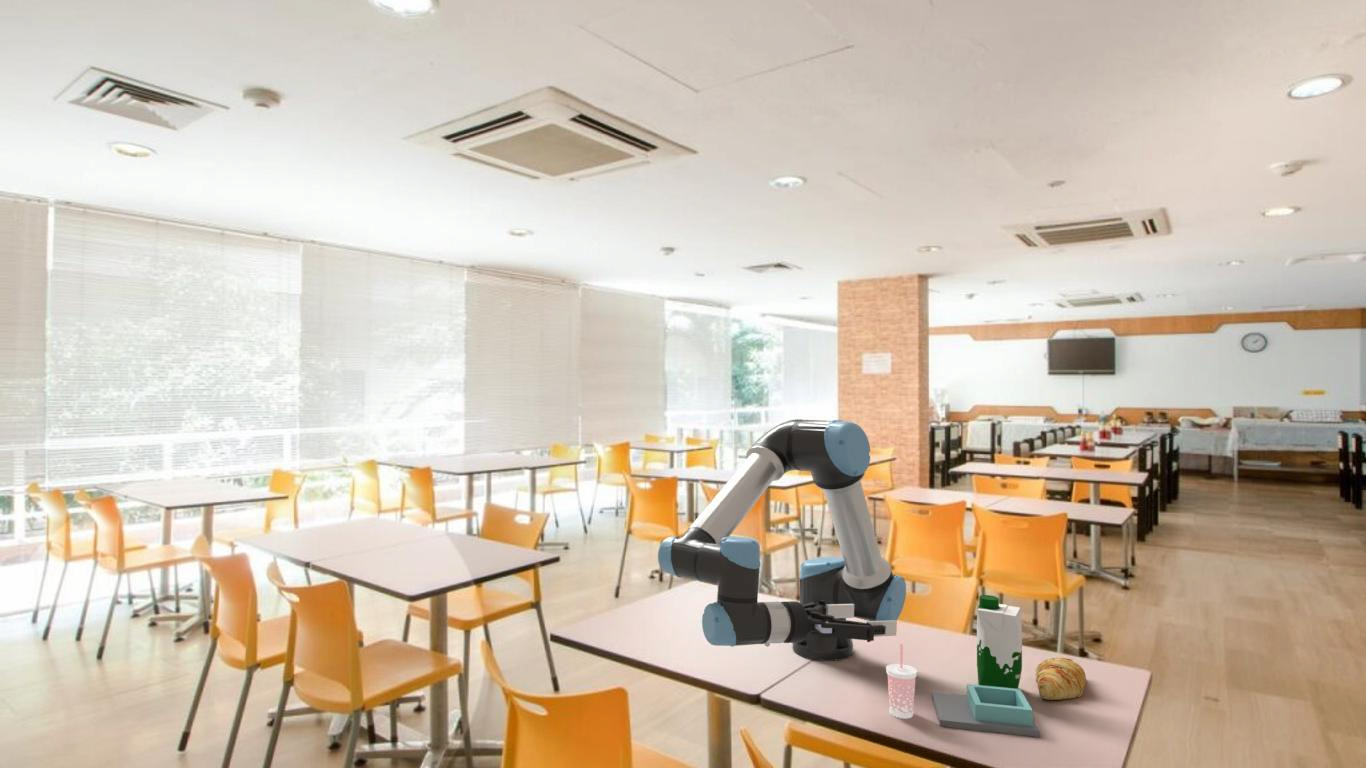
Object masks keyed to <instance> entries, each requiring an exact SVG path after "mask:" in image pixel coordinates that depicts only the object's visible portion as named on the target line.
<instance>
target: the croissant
mask: <svg viewBox="0 0 1366 768" xmlns="http://www.w3.org/2000/svg"><path fill="white" fill-rule="evenodd" d="M1035 676H1036V677H1035V682H1036V684H1037V689H1038V692H1039V697H1040V698H1042V699H1043V700H1048V701H1049V700H1051V701H1053V700H1057V701H1060V700H1067V699H1069V700H1070V699H1074V698H1077V697H1078V698H1080V697H1082V695H1083V693H1084V691H1085V688H1086V684H1087V678H1086V677H1087V676H1086V673H1085V670H1084V668H1083V667H1082V666H1081V665H1080V664H1079V663H1077V662H1075V661H1074V660H1073V659H1071V658H1066V657H1055V658H1054V657H1052V658H1049V659H1048V658H1047V659H1045V660H1043V661H1042V662H1040V663H1039V664H1038V665H1037V666H1036V667H1035Z"/></svg>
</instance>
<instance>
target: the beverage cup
mask: <svg viewBox="0 0 1366 768" xmlns="http://www.w3.org/2000/svg"><path fill="white" fill-rule="evenodd" d="M899 645H900V646H899V647H900V648H899V655H900V657H899V658H900V659H899V660H900V661H899V663H891V664H888V665H886V667H885V670H886V674H887V688H888V690H887V691H888V705H889V714H890V715H891V714H892V715H891V716H893V717H895V716H896V717H895V718H898V717H899V718H898V719H911V718H912V717H913V716H914V708H915V707H914V706H915V705H914V703H915V691H916V690H915V689H916V677H917V675H918V670H917V668H916V667H913V666H911V665H909V664H904V661H903V659H904V657H903V656H904V655H903V654H904V653H903V652H904V651H903V650H904V647H903V646H904V644H902V643H900V644H899Z"/></svg>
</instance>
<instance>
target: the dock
mask: <svg viewBox="0 0 1366 768" xmlns="http://www.w3.org/2000/svg"><path fill="white" fill-rule="evenodd" d="M931 698H932V701H933V702H932V703H933V705H934V710H935V713H936V717H937V720H938V725H939V726H940V727H944V726H948V727H947V728H953V727H955V728H956V729H965V730H971V731H980V732H989V733H991V732H992V733H999V734H1008V735H1017V736H1026V737H1027V736H1028V737H1035V738H1040V737H1041V733H1040V728H1039V727H1038V726H1037V723H1036V722H1035V720H1034V718H1033V717H1034V715H1033V714H1034V712H1033V711H1034V709H1033V708H1032V707H1031V705H1030V704H1029V701H1028V699H1027V698H1026V696H1025V695H1024V693H1023V692H1022V690H1021V688H1018V689H1014V688H1004V687H993V686H983V685H979V684H972V683H971V684H970V683H967V684H966V694H963V693H962V694H961V693H952V692H951V693H950V692H941V691H931ZM955 728H954V729H955Z"/></svg>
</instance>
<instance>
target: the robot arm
mask: <svg viewBox="0 0 1366 768" xmlns="http://www.w3.org/2000/svg"><path fill="white" fill-rule="evenodd" d="M870 452H871V446H870V441H869V438H868V436H867V433H866V432H865V431H864V429H863V428H862V427H861V426H860V425H858V424H857V423H855V422H852V421H844V420H840V419H836V420H835V419H833V420H821V419H820V420H818V419H817V420H816V419H815V420H814V419H802V418H799V419H798V418H797V419H791V420H787V421H784V422H783V423H779V424H778V425H776V426H774V427H772V428H771V429H770V430H768V431H767V432H765V433H764V434H763V435H761V436H760V437H759V438H758V439H757V440H756V441H755V442H754V443H753V444H752V445H751V446H750V448H748V449H747V451H746V456H745V461H744V462H743V463H742V464H741V465H740V466H739V468H738V469H737V470H736V471H735V472H734V474H733V475H732V476H731V477H730V478H729V480H727V482H726V483H725V484H724V485H723V487H722V488H721V489H720V490H719V491H718V492H717V494H716V495H715V496H714V497H713V499H712V500H711V501H710V502H709V504H708V505H707V506H706V507H705V508H704V509H703V510H702V511H701V513H700V514H699V515H698V516H697V517H696V519H695V520H694V521H693V523H691V525H690V526H689V527H688V529H687V530H686V531H685V532H684V534H683V535H682V536H679V535H675V536H674V535H672V536H669V537H666V538H664V540H662V542H661V543H660V546H659V548H658V552H657V561H658V565H659V567H660V569H661V570H662V571H663V572H664V573H667V574H669V575H672V576H675V577H677V578H684V579H688V580H693V581H698V582H702V583H706V584H711V585H713V586H717V592H716V593H717V597H716V601H715V602H712V603H709V604H707V605H706V606H705V608H704V609H703V614H702V617H701V618H702V619H701V626H702V632H703V635H704V638H705V639H706V641H707V642H708V643H709V644H710V645H711V646H717V647H718V646H719V647H720V646H723V647H725V646H726V647H733V648H734V647H735V646H736V647H737V646H748V645H749V646H750V645H764V646H765V647H767V648H768V647H770V645H771V644H781V643H783V644H792V650H793V652H795V653H796V654H797V655H799V656H801V657H804V658H807V659H812V660H818V661H841V660H845V659H848V658H850V657H852V656H853V654H854V643H853V640H860V641H866V642H867V643H870V642H873V641H874V640H875V638H874V637H876V638H877V637H893V636H895V637H896V636H897V630H898V629H897V628H898V627H897V626H898V625H897V624H898V619H899V618H900V616H901V614H902V613H903V609H904V607H905V601H906V596H907V584H906V583H907V582H906V580H905V578H904V577H903V576H901V575H899V574H894V573H893V571H892V566H891V564H890V563H889V561H888V560H887V559H886V558H884V557H882V554H881V551H880V548H879V544H878V541H877V536H876V532H875V529H874V525H873V521H872V518H871V515H870V511H869V507H868V504H867V500H866V495H865V492H864V489H863V485H862V479H863V478H864V476H865V475H866V474H865V473H866V472H867V470H868V468H869V466H870V462H871V455H870ZM791 471H801V472H802V471H803V472H809V473H810V474H811V478H812V481H813V483H814V485H815V486H816V487H817V488H818V489H819V490H820V489H821V490H823V494H824V497H825V500H826V503H827V507H828V510H829V514H830V517H831V521H832V523H833V524H832V525H833V528H834V530H835V535H836V537H837V541H838V545H839V548H840V552H841V554H842V557H835V556H826V557H825V556H824V557H815V558H810V559H809V558H808V559H806V560H804V561H803V562H802V563H801V565H800V570H799V578H798V579H799V601H795V600H794V601H791V600H790V601H763V602H762V601H760V602H758V597H759V584H760V567H761V552H760V551H761V545H760V543H759V541H758V540H756V539H754V538H750V537H745V536H731V535H732V534H733V532H734V531H735V530H736V528H737V527H738V526H739V525H740V523H741V522H742V521H743V519H744V518H745V517H746V515H748V513H749V512H750V511H751V509H752V508H753V507H754V506H755V504H756V503H757V502H758V500H759V499H760V498H761V497H762V495H763V494H764V493H765V492H766V491H767V489H768V487H770V485H771V484H772V483H773V482H774V481H776V482H777V481H779V480H780V479H782V477H783V476H784V475H785V474H786V473H787V472H791ZM852 618H856V619H859V620H864V621H866V622H862V621H853V620H847V619H852Z"/></svg>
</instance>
